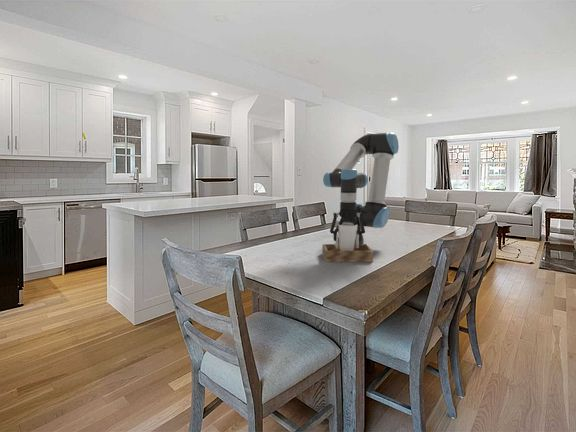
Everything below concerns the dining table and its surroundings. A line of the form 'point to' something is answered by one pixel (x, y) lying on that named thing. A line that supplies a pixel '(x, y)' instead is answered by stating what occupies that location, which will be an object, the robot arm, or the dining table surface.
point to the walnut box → (347, 254)
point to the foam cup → (347, 236)
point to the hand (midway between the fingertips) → (346, 247)
